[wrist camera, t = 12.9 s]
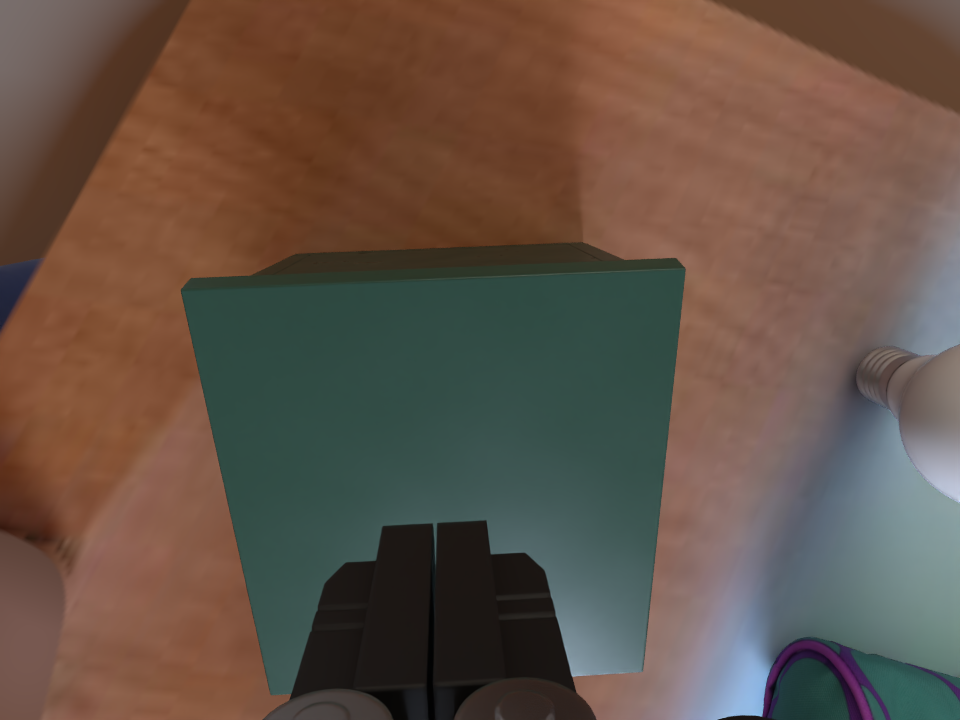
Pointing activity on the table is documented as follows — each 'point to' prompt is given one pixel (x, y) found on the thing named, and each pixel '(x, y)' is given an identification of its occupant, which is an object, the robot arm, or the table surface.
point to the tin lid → (445, 430)
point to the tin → (438, 258)
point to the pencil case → (854, 686)
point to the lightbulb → (920, 408)
